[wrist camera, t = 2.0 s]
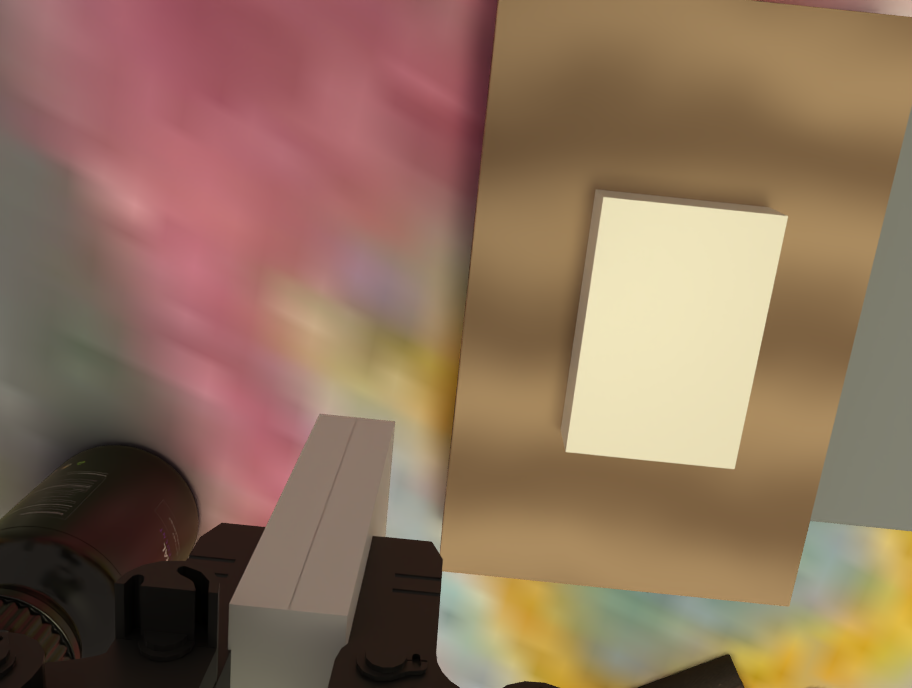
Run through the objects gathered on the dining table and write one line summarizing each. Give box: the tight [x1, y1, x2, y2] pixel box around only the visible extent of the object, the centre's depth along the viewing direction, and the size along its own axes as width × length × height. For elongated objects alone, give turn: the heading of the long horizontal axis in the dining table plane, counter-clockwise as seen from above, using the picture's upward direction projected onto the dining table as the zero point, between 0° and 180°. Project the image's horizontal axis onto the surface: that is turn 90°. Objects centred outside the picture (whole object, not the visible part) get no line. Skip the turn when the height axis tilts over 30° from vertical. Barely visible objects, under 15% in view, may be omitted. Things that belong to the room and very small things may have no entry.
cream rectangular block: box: [561, 189, 788, 469], centre depth 30 cm, size 9×6×2 cm, turn 174°
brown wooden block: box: [440, 0, 912, 606], centre depth 33 cm, size 22×14×4 cm, turn 174°
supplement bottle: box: [0, 445, 198, 663], centre depth 33 cm, size 7×7×12 cm
